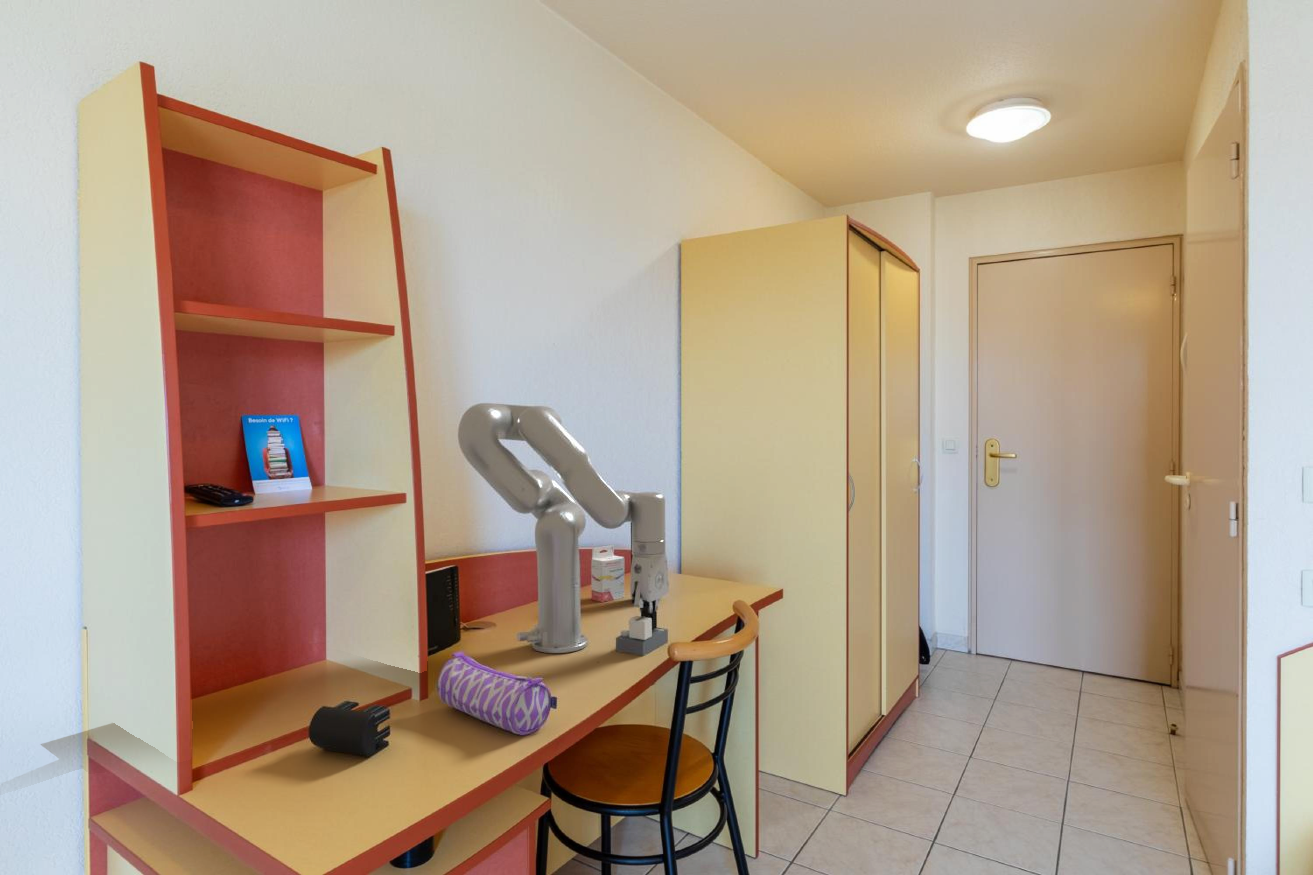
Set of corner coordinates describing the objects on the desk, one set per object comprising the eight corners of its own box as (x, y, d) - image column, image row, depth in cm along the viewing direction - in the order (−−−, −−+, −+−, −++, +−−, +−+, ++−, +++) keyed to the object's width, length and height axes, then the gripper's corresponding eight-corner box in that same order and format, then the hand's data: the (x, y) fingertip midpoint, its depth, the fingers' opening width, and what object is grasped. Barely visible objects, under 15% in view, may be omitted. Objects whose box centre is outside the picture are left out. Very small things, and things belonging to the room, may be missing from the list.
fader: (644, 639, 157) (644, 620, 157) (628, 637, 159) (628, 618, 159) (652, 635, 160) (651, 617, 159) (636, 633, 162) (636, 615, 161)
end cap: (308, 756, 111) (307, 713, 111) (341, 737, 118) (340, 696, 118) (361, 765, 108) (360, 721, 108) (392, 745, 115) (392, 703, 115)
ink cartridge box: (602, 603, 201) (601, 550, 201) (591, 599, 205) (590, 548, 205) (625, 597, 207) (624, 546, 207) (614, 594, 211) (613, 544, 211)
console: (643, 655, 156) (643, 637, 156) (616, 650, 160) (615, 633, 160) (667, 641, 166) (667, 624, 166) (641, 637, 169) (641, 620, 169)
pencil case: (559, 725, 122) (558, 669, 121) (518, 746, 114) (517, 686, 114) (472, 696, 135) (471, 646, 134) (430, 713, 127) (429, 660, 127)
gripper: (646, 554, 154) (646, 640, 154) (678, 543, 167) (678, 622, 167) (616, 551, 157) (617, 635, 158) (650, 541, 171) (650, 618, 171)
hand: (648, 628), depth 163 cm, fingers closed
